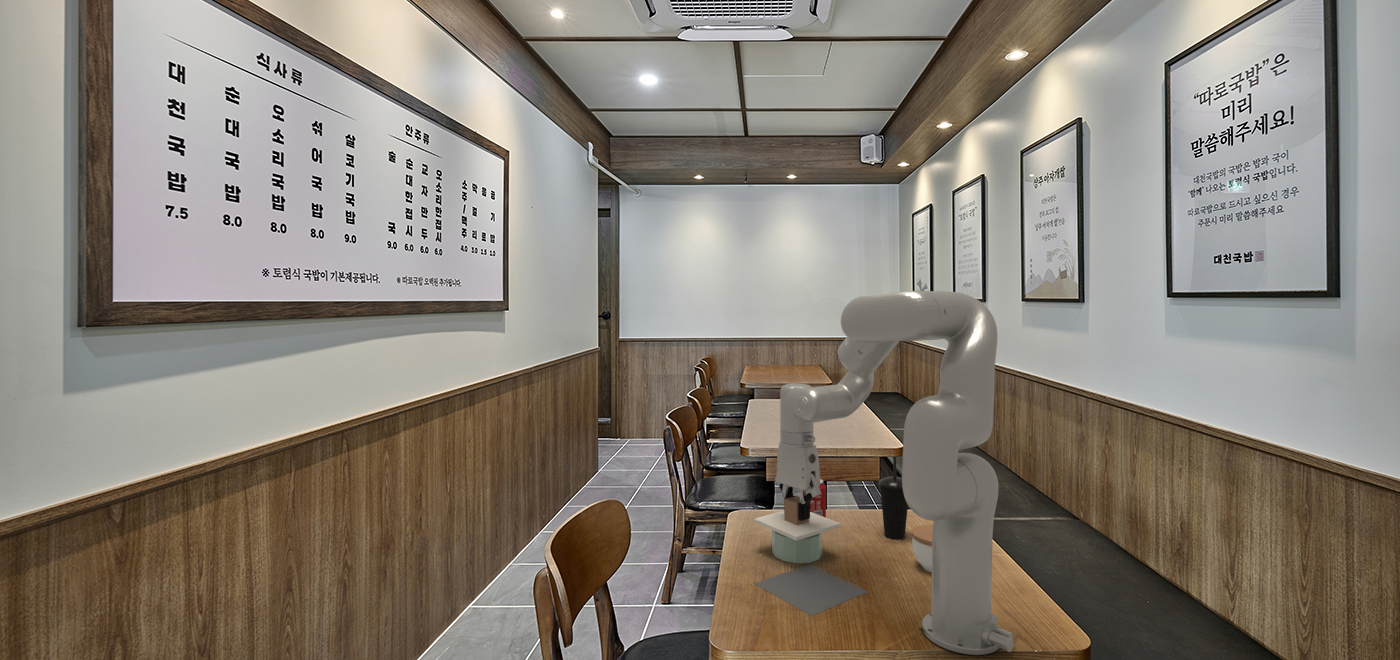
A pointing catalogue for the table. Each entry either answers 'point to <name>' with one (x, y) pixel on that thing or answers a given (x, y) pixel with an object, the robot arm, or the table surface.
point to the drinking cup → (893, 506)
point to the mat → (811, 589)
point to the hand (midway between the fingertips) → (797, 515)
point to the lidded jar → (923, 545)
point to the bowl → (797, 548)
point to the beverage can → (819, 501)
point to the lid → (796, 521)
